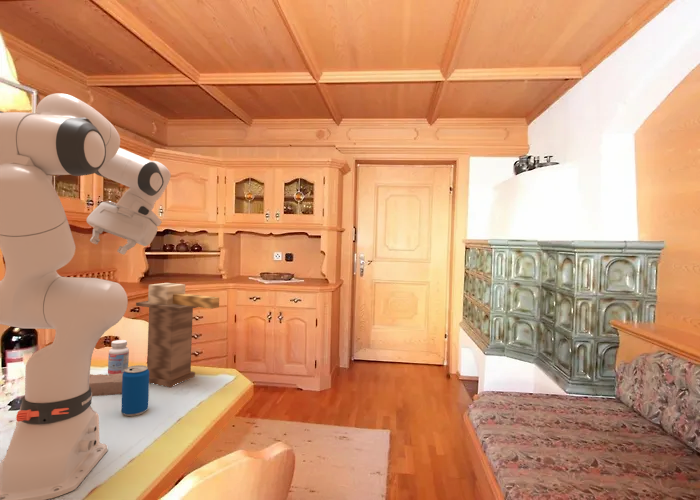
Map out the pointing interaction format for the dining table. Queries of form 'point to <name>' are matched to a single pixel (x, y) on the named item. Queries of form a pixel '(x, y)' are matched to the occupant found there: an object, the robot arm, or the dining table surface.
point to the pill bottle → (118, 357)
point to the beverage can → (135, 390)
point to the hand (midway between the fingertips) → (106, 248)
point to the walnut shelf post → (169, 343)
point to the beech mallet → (178, 296)
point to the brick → (106, 384)
